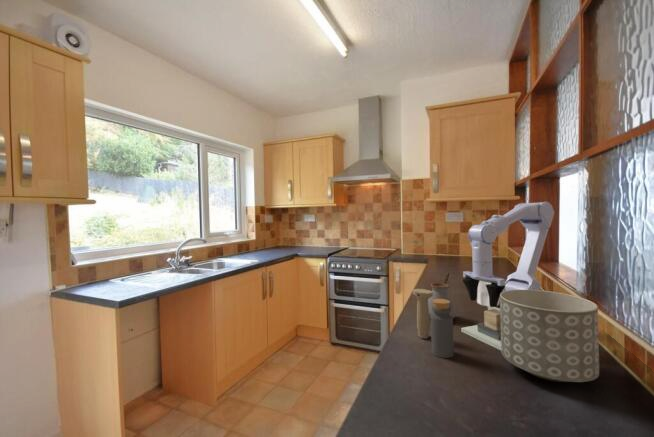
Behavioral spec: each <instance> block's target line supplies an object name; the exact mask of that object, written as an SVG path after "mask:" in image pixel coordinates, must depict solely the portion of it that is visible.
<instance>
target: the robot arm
mask: <svg viewBox="0 0 654 437" xmlns="http://www.w3.org/2000/svg"><path fill="white" fill-rule="evenodd" d="M554 215H555V210H554V207H553V206H552V204H551V203H550V202H549V201H543V202H542V201H541V202H526V203H525V202H521V203H520V202H519V203H518V204H516V205H514V208H513V209H511V210H509V211H507V212H506V213H505V214H503V215H501V214H493V215H491V218H489V219H488V220H483V221H482V222H481V223H480V224H474V225H472V226H471V227H470V228H469V229H468V233H467V238H468V240H469V242H470V247H471V251H472V252H471V253H472V254H471V255H472V271H468V270H466V271H465V270H464V271H462V277H463V279H462V283H463V284H464V285H465V287H466V290H467V293H468V295H469V299H470V301H477V290H478V284H479V281H484V282H488V283H491V284H488V285H486V287H487V290H488V294H489V304H490V307H496V308H498V305H497V303H498V300H499V297H500V294H501V293H502V292H504V291H508V290H541V286H542V284H541V282H540V281H539V280H538V279H537V278H536V277H535V275H536V272H537V269H538V265H539V262H540V259H541V255H542V252H543V249H544V246H545V241H546V239H547V235H548V232H549V229H550V228H551V226H552V223H553V220H554ZM517 221H519V222H520V223H521V226H523V228H525V229H527V230H528V232H527V234H526V239H525V242H524V245H523V248H522V252H521V255H520V258H519V261H518V265H517V268H516V271H514V272H512V273H510V274H508V275H507V278H506V279H505V278H502V277H499V276H496V275H494V274H493V243H494V242H495V241H496V238H497V237H498V236H499V235H501V234H503V233H504V232H506V231H508V229H509V228H510V225H511V224H513V223H515V222H517Z"/></svg>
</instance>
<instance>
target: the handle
mask: <svg viewBox="0 0 654 437" xmlns="http://www.w3.org/2000/svg"><path fill="white" fill-rule="evenodd" d="M411 294H412V295H413V296H415V297H416V300H417V301H416V328H417V335H418V337H419V338H420V339H425V340H427V339H429V337H430V329H431V319H430V317H429V307H428V299H429V298H430V297H432V296H433V292H432V290H428V289H424V288H414V289H412V292H411Z"/></svg>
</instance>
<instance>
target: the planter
mask: <svg viewBox="0 0 654 437" xmlns="http://www.w3.org/2000/svg"><path fill="white" fill-rule="evenodd" d="M499 309H500V318H501V350H500V351H501V355H502V356H503V358H504V359H505V360H506V361H507V362H508V363H510V364H512V365H513V366H515V367H517V368H518V369H521V370H523V371H525V372H527V373H528V374H530V375H533V376H535V377H537V378H540V379H542V380H546V381H550V382H555V383H556V382H557V383H584V382H585V383H586V382H592V381H595V380H596V379H598V378H599V376H600V351H599V350H600V349H599V342H600V341H599V306H598V304H596V303H595V302H593V301H591V300H589V299H586V298H583V297H579V296H576V295H572V294H567V293H562V292H557V291H550V290H541V289H540V290H508V291H504V292H503V291H502V293H501V294H500V303H499Z"/></svg>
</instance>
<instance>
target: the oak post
mask: <svg viewBox="0 0 654 437" xmlns="http://www.w3.org/2000/svg"><path fill="white" fill-rule="evenodd" d="M483 323H484V325H485V326H487V327H489V328H492V329H494V330H497V331H500V330H501V318H500V311H498V310H495V309H492V310H488V309H487V310H484V311H483Z"/></svg>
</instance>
